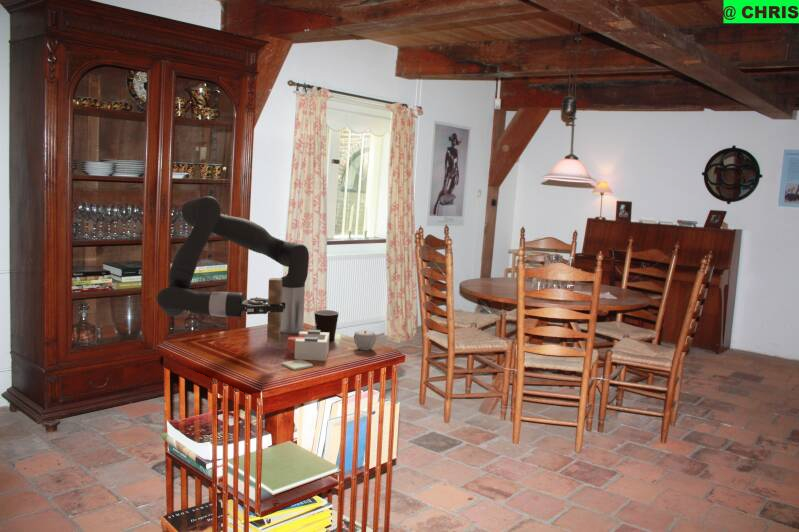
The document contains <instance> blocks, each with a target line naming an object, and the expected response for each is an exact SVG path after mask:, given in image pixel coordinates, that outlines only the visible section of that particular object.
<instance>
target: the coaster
mask: <svg viewBox="0 0 799 532" xmlns="http://www.w3.org/2000/svg"><path fill="white" fill-rule="evenodd" d="M281 366H284V367H285V368H288V369H290V370H291V371H299V370H303V369H309V368H314V364H312V363H311V362H308V361H306V360H301V359H293V360H289V361H283V362H281Z"/></svg>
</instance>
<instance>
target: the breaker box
mask: <svg viewBox="0 0 799 532" xmlns="http://www.w3.org/2000/svg"><path fill="white" fill-rule="evenodd" d="M298 337H305V339H297V338H296V340H295V350H294V360H299V359H301V360H303V361H306V360H307V361H309V360H310V361H327V357H328V353H329V348H330V347H329V346H330V342H329V333H327V332H321V330H316V329H308V330H307V331H306V330H305V331H304V330H303V331H300V332H299V333H298Z"/></svg>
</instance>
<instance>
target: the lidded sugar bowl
mask: <svg viewBox="0 0 799 532" xmlns="http://www.w3.org/2000/svg"><path fill="white" fill-rule="evenodd" d="M376 341H377V336H376V334H375V332H374V331H372V330H358V331H355V332H354V335H353V342H354V344H355V346H356V348H357V349H358V350H359V349H360V350H359V351H370V350H371V349H373V347H374V346H375V345H376ZM369 349H370V350H369Z"/></svg>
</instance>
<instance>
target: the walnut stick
mask: <svg viewBox="0 0 799 532" xmlns="http://www.w3.org/2000/svg"><path fill="white" fill-rule="evenodd" d="M267 296H268V297H267V299H268V303H267V304H277V305H281V302H282V277H270V278H269V279H268V293H267ZM266 326H267V329H266V331H267V334H266V342H267V343H279V342H280V340H281V333H282V332H281V312H271V311H270V313H267V325H266Z"/></svg>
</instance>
